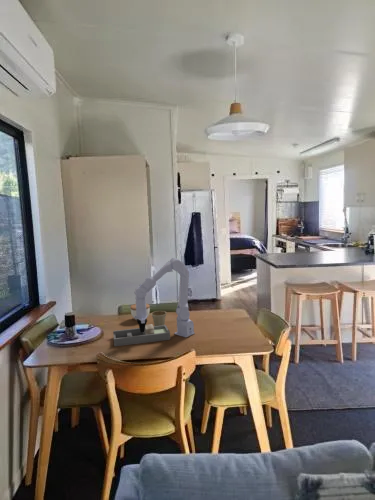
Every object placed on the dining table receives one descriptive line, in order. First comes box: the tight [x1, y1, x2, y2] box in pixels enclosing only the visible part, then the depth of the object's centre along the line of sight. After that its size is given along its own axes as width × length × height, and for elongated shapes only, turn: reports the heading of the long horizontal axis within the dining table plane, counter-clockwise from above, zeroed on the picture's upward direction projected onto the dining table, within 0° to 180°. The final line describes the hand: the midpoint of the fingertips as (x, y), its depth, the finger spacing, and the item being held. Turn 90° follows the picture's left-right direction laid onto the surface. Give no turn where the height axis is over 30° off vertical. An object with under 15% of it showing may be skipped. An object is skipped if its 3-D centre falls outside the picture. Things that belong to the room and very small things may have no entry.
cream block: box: [145, 323, 154, 335], centre depth 199 cm, size 4×8×4 cm, turn 13°
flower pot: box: [150, 310, 167, 326], centre depth 216 cm, size 9×9×9 cm
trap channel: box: [112, 324, 171, 347], centre depth 198 cm, size 30×13×4 cm, turn 103°
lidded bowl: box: [130, 303, 151, 321], centre depth 232 cm, size 13×13×11 cm
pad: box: [154, 328, 166, 334], centre depth 201 cm, size 7×11×2 cm, turn 13°
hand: (142, 331), depth 198 cm, fingers closed, pressing on cream block
